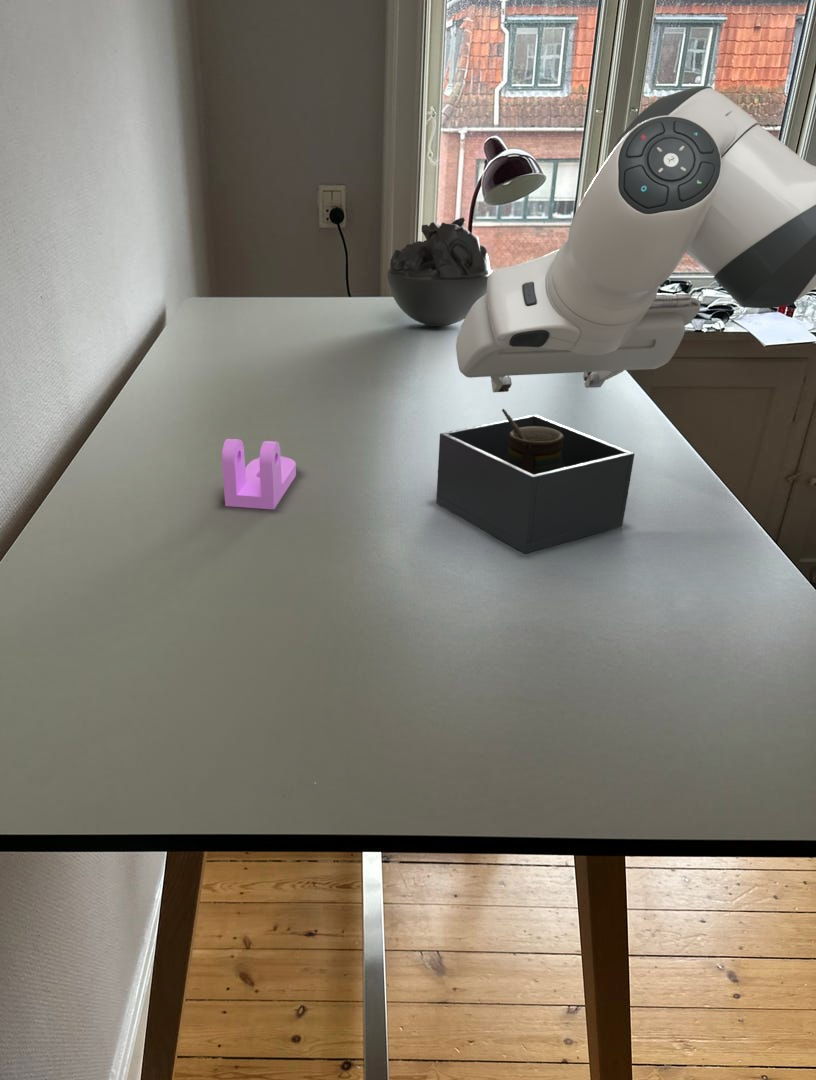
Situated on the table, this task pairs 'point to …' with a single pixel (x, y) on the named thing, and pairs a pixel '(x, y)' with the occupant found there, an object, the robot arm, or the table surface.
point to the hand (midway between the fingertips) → (545, 383)
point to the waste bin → (533, 485)
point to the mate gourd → (534, 448)
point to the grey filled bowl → (440, 274)
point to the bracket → (255, 475)
